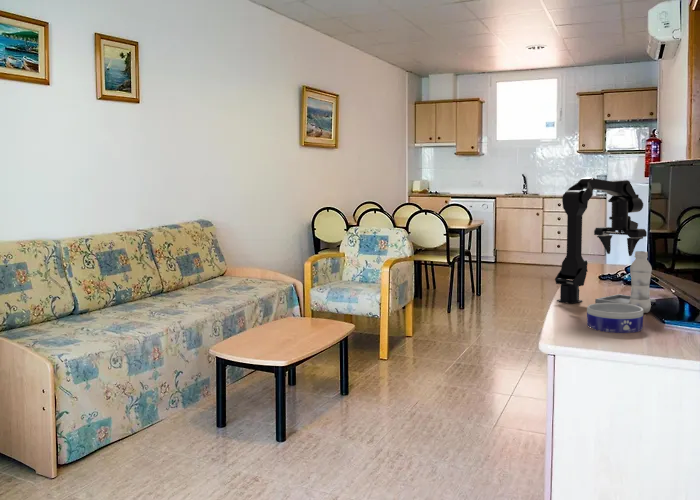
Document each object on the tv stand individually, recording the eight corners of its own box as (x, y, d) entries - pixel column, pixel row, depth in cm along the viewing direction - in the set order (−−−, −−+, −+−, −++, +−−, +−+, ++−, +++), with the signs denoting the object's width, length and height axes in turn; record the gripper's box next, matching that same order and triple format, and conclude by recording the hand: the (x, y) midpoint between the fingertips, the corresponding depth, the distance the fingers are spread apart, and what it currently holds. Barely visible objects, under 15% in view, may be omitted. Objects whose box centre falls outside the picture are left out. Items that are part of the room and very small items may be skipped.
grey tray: (632, 309, 204) (632, 304, 204) (595, 302, 215) (595, 298, 215) (655, 303, 212) (655, 299, 211) (618, 298, 223) (618, 294, 223)
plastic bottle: (646, 310, 201) (647, 250, 198) (654, 315, 194) (655, 252, 192) (625, 310, 201) (627, 250, 199) (633, 315, 195) (634, 253, 192)
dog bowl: (609, 335, 171) (610, 314, 170) (575, 324, 185) (576, 304, 185) (655, 330, 175) (655, 310, 174) (618, 320, 189) (618, 301, 189)
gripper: (656, 213, 225) (655, 254, 227) (611, 211, 241) (611, 250, 243) (637, 215, 220) (636, 257, 222) (593, 213, 236) (593, 253, 238)
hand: (619, 254), depth 231 cm, fingers open, 9 cm apart
